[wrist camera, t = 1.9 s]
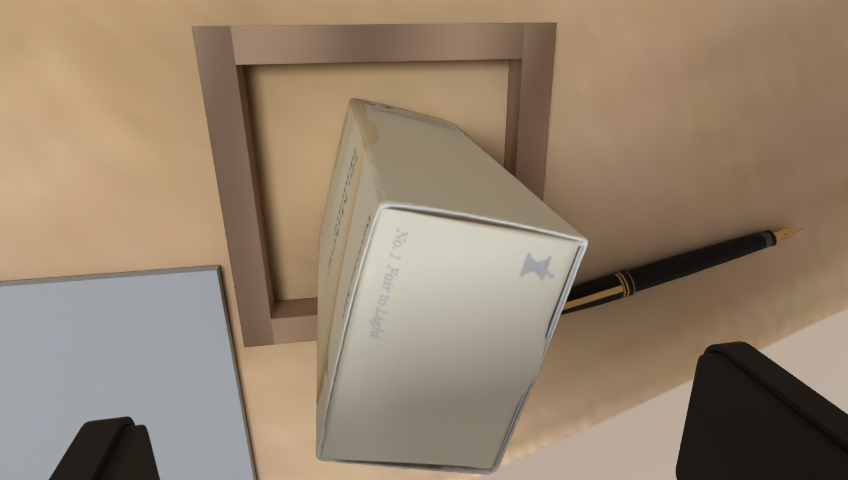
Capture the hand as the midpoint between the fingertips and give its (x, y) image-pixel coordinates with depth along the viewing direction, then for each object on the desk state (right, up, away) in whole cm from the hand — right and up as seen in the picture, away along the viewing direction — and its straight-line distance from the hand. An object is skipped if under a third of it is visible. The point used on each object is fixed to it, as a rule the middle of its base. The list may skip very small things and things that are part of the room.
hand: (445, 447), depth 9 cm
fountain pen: (+11, +2, +17) cm, 20 cm away
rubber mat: (-15, -3, +14) cm, 21 cm away
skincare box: (-2, +6, +13) cm, 14 cm away
